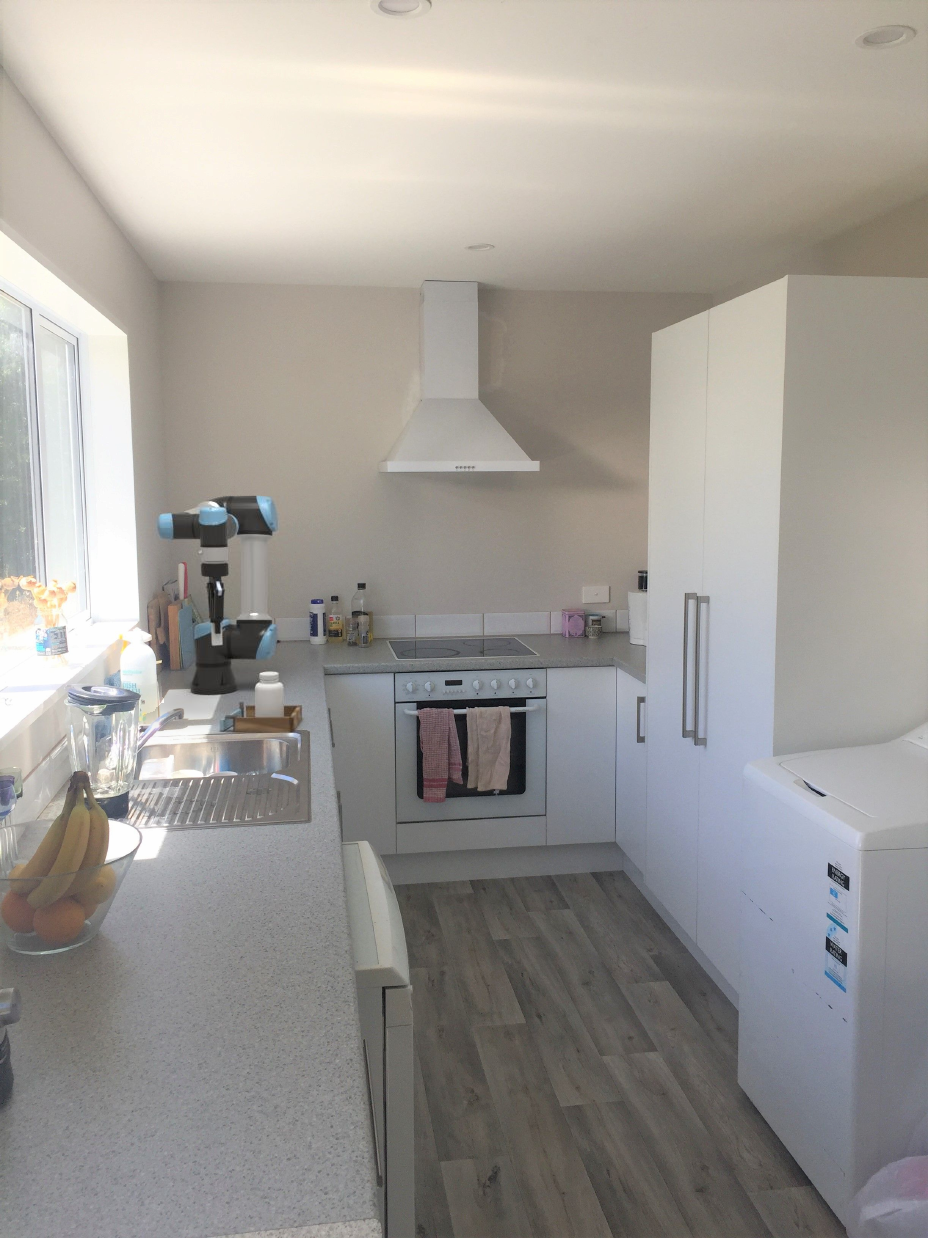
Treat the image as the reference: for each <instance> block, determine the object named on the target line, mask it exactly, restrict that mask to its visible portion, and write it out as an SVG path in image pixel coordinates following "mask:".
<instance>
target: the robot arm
mask: <svg viewBox="0 0 928 1238" xmlns="http://www.w3.org/2000/svg"><path fill="white" fill-rule="evenodd" d="M278 525H279V519H278V511H277V507H276V504H275V502H274V500H273V499H272V498H271V497H269V496H265V495H264V496H263V495H224V496H223V495H222V496H219V497H215V498H211V499H208V500H204V501H202V502H200V503H199V504H197V506H196V507H194V508H190V509H187V510H185V511H181V512H178V513H171V512H169V513H162V514H160V515H159V516H158V519H157V532H158V535H159V537H160V538H161V539H163V540H171V541H173V540H200V541H199V542H200V543H199V544H200V545H199V546H200V550H198V554H199V555H200V562H201V564H200V575H201V576H202V577H205V578H208V582H206V586H205V587H206V592H207V593H206V594H207V603H208V617H209V621H205V622H202V623H201V622H200V623H198V624H197V625H195V626H194V637H193V640H194V662H195V663H194V664H195V668H194V669H195V670H194V672H193V675H192V678H191V681H190V682H191V683H190V693H193V694H197V695H220V694H228V693H232V692H236V691H237V690H238V681H237V678H236V674H235V673H234V670H233V668H232V667H233V666H232V660H257V661H259V660H269V659H271V658H272V657H273V655H274V653H275V651H276V647H277V642H278V626H277V625H276V624H274V623H273V618H272V617H271V616H270V615H269V614H268V600H269V599H268V597H269V596H268V592H269V591H268V590H269V589H268V585H269V584H268V581H269V580H268V575H269V571H268V569H269V566H268V563H269V561H268V559H269V556H268V555H269V554H268V553H269V541H270V540H272V538H273V532H274V533H275V532H277V531H278V529H279V528H278V527H279V526H278ZM235 536H236V537H237V539H239V541H240V542H241V543H240V545H241V551H240V552H241V553H240V554H241V556H240V557H241V559H240V562H241V564H240V566H241V567H240V570H241V571H240V572H241V573H240V575H241V576H240V577H241V578H240V586H241V589H240V598H241V599H240V614H239V616H238V617H236V620H235V621H236V622H235V624H234V623H233V624H232V622H231V620H230V619H225V618H224V613H225V612H224V611H225V610H224V608H225V607H224V606H225V604H224V603H225V591H226V590H225V586H224V582H222V581H223V580H222V577H228V576H229V572H230V571H229V563H228V561H229V544H228V543H229V542H228V540H229V539H231V538H233V537H235Z"/></svg>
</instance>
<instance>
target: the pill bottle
mask: <svg viewBox="0 0 928 1238" xmlns="http://www.w3.org/2000/svg"><path fill="white" fill-rule="evenodd" d="M279 674H280V673H279V672H277V671H263V672H260V673H259V675H258V677H259V682H257V683H256V684H255V686H254V705H255V717H284V705H285V696H284V694H285V690H284V689H285V688H284V684H283V683H282V682H281V681H279V680H280V677H279V676H280V675H279Z"/></svg>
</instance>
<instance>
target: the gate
mask: <svg viewBox="0 0 928 1238" xmlns="http://www.w3.org/2000/svg"><path fill="white" fill-rule="evenodd" d="M228 715H237V717H242V714H241V709H240V708H239V709H236V710H234V711H233V712H231V713H229V714H228ZM230 727H233V719H225V716H224V717H222V718H221V719H219V731H222V732H223V731H225V730H227V729H228V728H230Z"/></svg>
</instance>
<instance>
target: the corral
mask: <svg viewBox="0 0 928 1238" xmlns="http://www.w3.org/2000/svg"><path fill="white" fill-rule="evenodd" d="M238 706H239V709H241V714H242V717H237V715H229V714H226V715H224V717H225V719H233V725H232V733H294V731H296V729H297V727H298V726H299V724H300V723H301V721H302V720H303V705H299V704H295V705H288V704H287V705H285V704H284V717H255V704H254V705H252V704H251V705H250V704H249V705H244V702H243V701H240V702H239V704H238ZM244 706H245V707H244ZM244 710H245V711H244Z"/></svg>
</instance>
